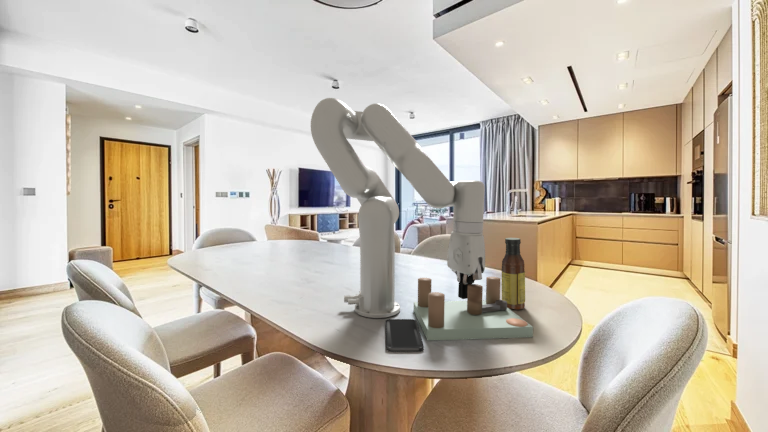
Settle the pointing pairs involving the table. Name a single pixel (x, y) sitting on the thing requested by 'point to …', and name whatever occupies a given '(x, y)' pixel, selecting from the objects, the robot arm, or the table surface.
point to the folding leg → (476, 301)
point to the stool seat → (466, 316)
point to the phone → (403, 336)
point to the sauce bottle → (513, 275)
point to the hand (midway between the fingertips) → (464, 297)
